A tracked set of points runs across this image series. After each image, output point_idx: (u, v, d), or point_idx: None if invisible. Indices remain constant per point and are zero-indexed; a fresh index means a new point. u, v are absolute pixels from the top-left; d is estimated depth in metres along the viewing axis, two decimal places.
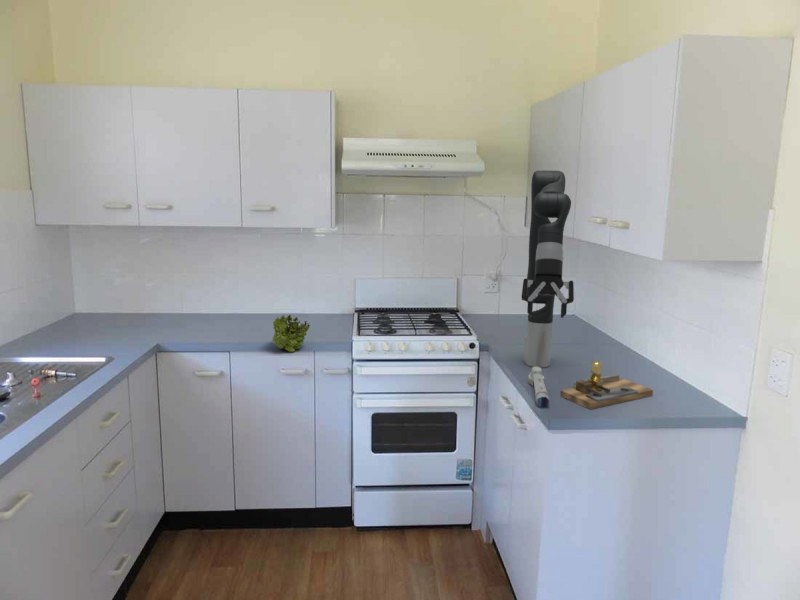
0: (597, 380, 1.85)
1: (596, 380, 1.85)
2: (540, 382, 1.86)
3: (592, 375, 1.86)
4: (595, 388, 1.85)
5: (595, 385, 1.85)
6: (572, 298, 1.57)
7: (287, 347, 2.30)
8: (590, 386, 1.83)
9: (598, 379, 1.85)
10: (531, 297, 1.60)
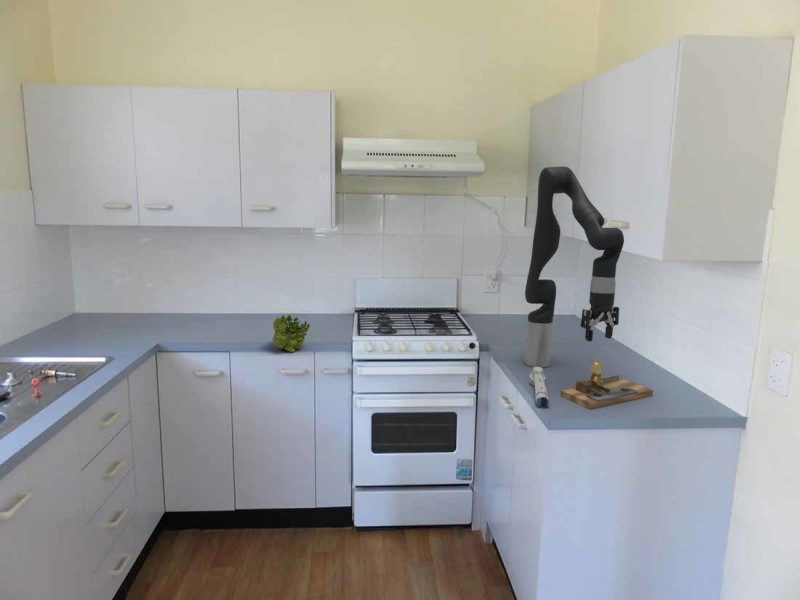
0: (597, 380, 1.85)
1: (596, 380, 1.85)
2: (540, 382, 1.85)
3: (592, 375, 1.86)
4: (595, 388, 1.85)
5: (595, 385, 1.85)
6: (617, 322, 1.85)
7: (287, 347, 2.30)
8: (590, 386, 1.83)
9: (598, 379, 1.85)
10: (592, 326, 1.80)
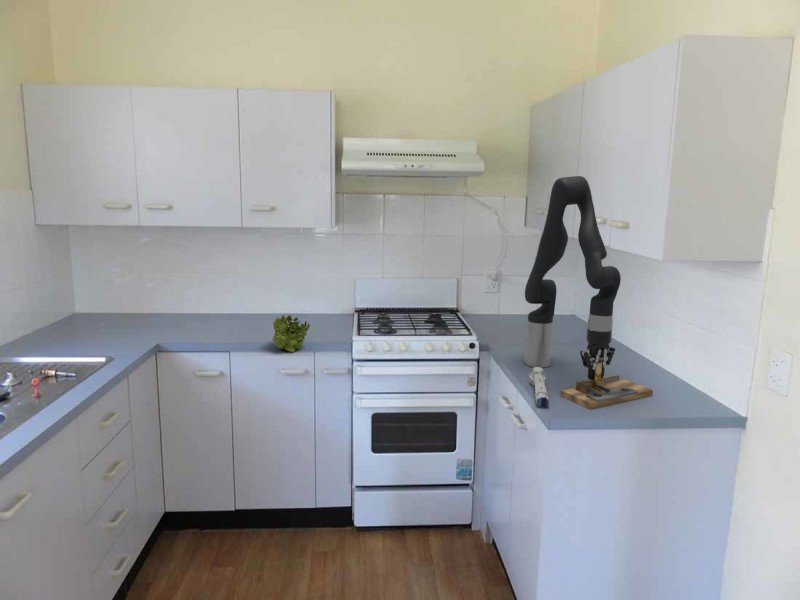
0: (597, 380, 1.85)
1: (596, 380, 1.85)
2: (540, 382, 1.85)
3: None
4: (595, 388, 1.85)
5: (595, 385, 1.85)
6: (609, 362, 1.86)
7: (287, 347, 2.30)
8: (590, 386, 1.83)
9: (598, 379, 1.85)
10: (594, 365, 1.84)
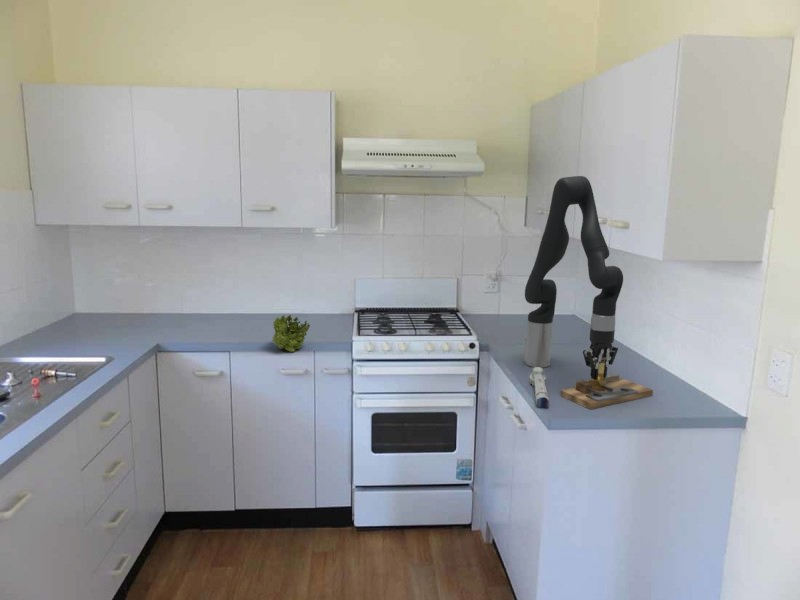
0: (600, 379, 1.86)
1: (599, 379, 1.86)
2: (540, 382, 1.85)
3: None
4: (598, 387, 1.86)
5: (598, 384, 1.85)
6: (612, 362, 1.87)
7: (287, 347, 2.30)
8: (590, 386, 1.83)
9: (601, 378, 1.86)
10: (597, 365, 1.84)
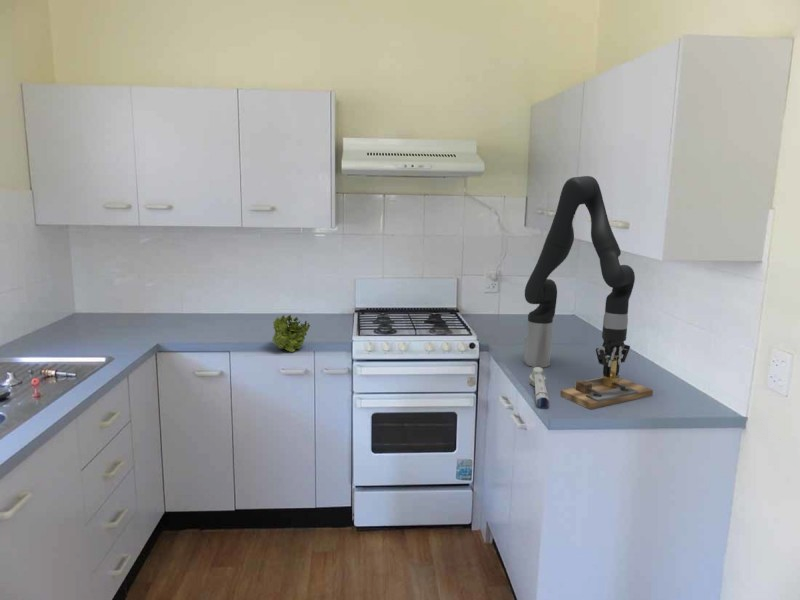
0: (612, 377, 1.88)
1: (611, 377, 1.88)
2: (540, 383, 1.85)
3: None
4: (610, 385, 1.88)
5: (610, 382, 1.88)
6: (624, 360, 1.90)
7: (287, 347, 2.30)
8: (590, 386, 1.83)
9: (613, 376, 1.88)
10: (609, 363, 1.87)
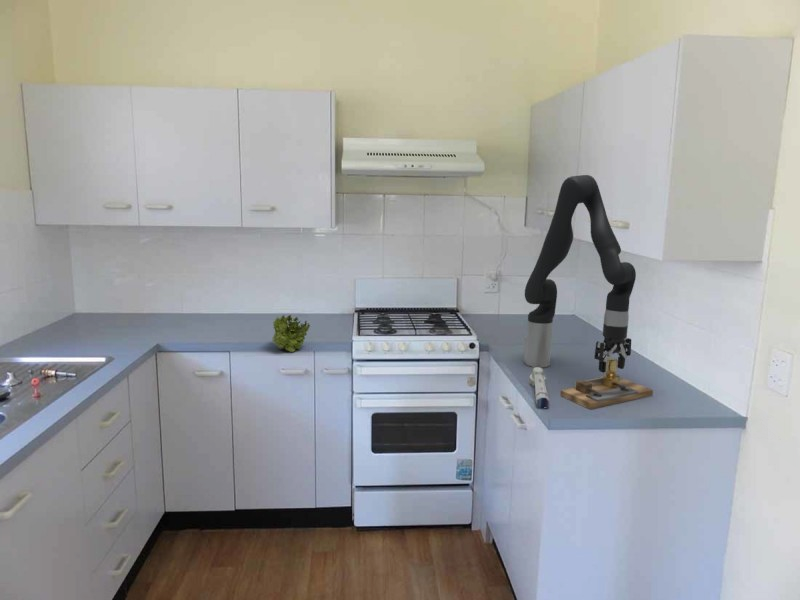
0: (612, 377, 1.88)
1: (611, 377, 1.88)
2: (540, 383, 1.85)
3: (607, 372, 1.89)
4: (610, 385, 1.88)
5: (610, 382, 1.88)
6: (630, 353, 1.90)
7: (287, 347, 2.30)
8: (590, 386, 1.83)
9: (613, 376, 1.88)
10: (606, 358, 1.86)
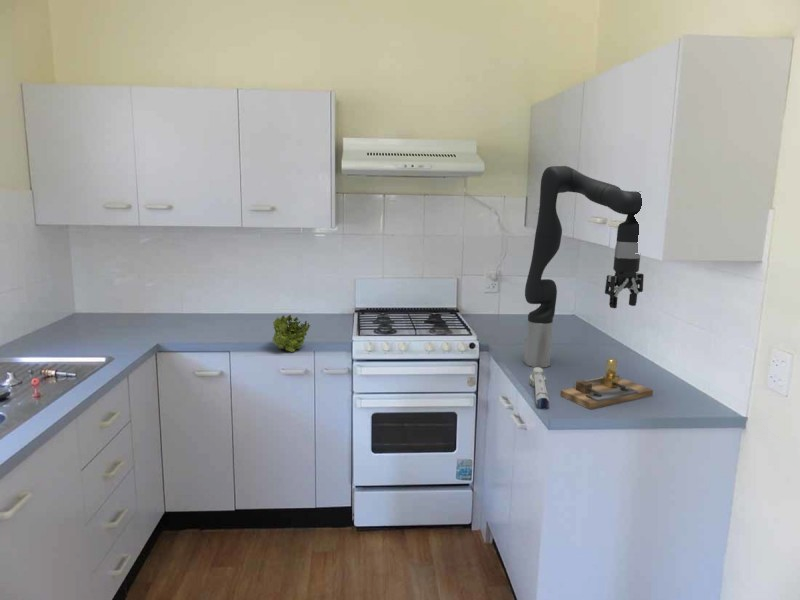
0: (612, 377, 1.88)
1: (611, 377, 1.88)
2: (541, 383, 1.85)
3: (607, 372, 1.89)
4: (610, 385, 1.88)
5: (610, 382, 1.88)
6: (642, 289, 1.81)
7: (287, 347, 2.30)
8: (590, 386, 1.83)
9: (613, 376, 1.88)
10: (617, 293, 1.77)
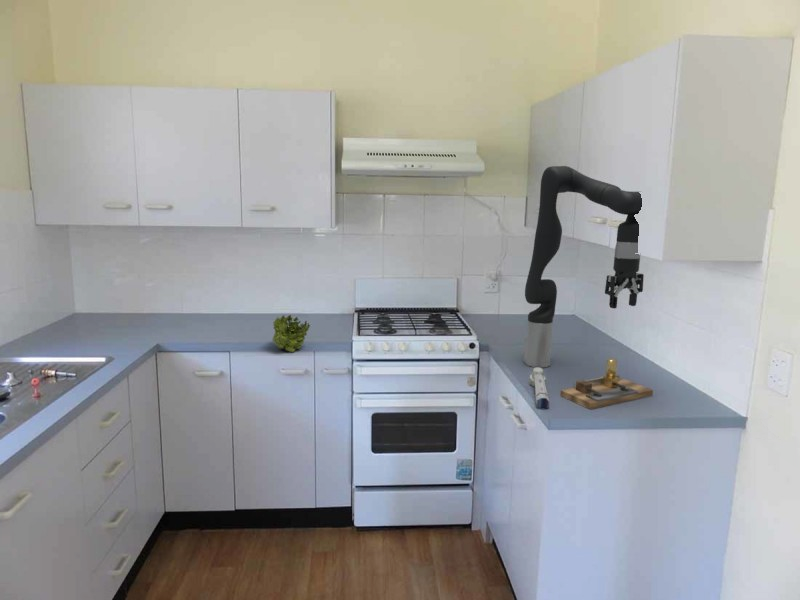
0: (612, 377, 1.88)
1: (611, 377, 1.88)
2: (541, 383, 1.85)
3: (607, 372, 1.89)
4: (610, 385, 1.88)
5: (610, 382, 1.88)
6: (642, 289, 1.81)
7: (287, 347, 2.30)
8: (590, 386, 1.83)
9: (613, 376, 1.88)
10: (617, 293, 1.77)
